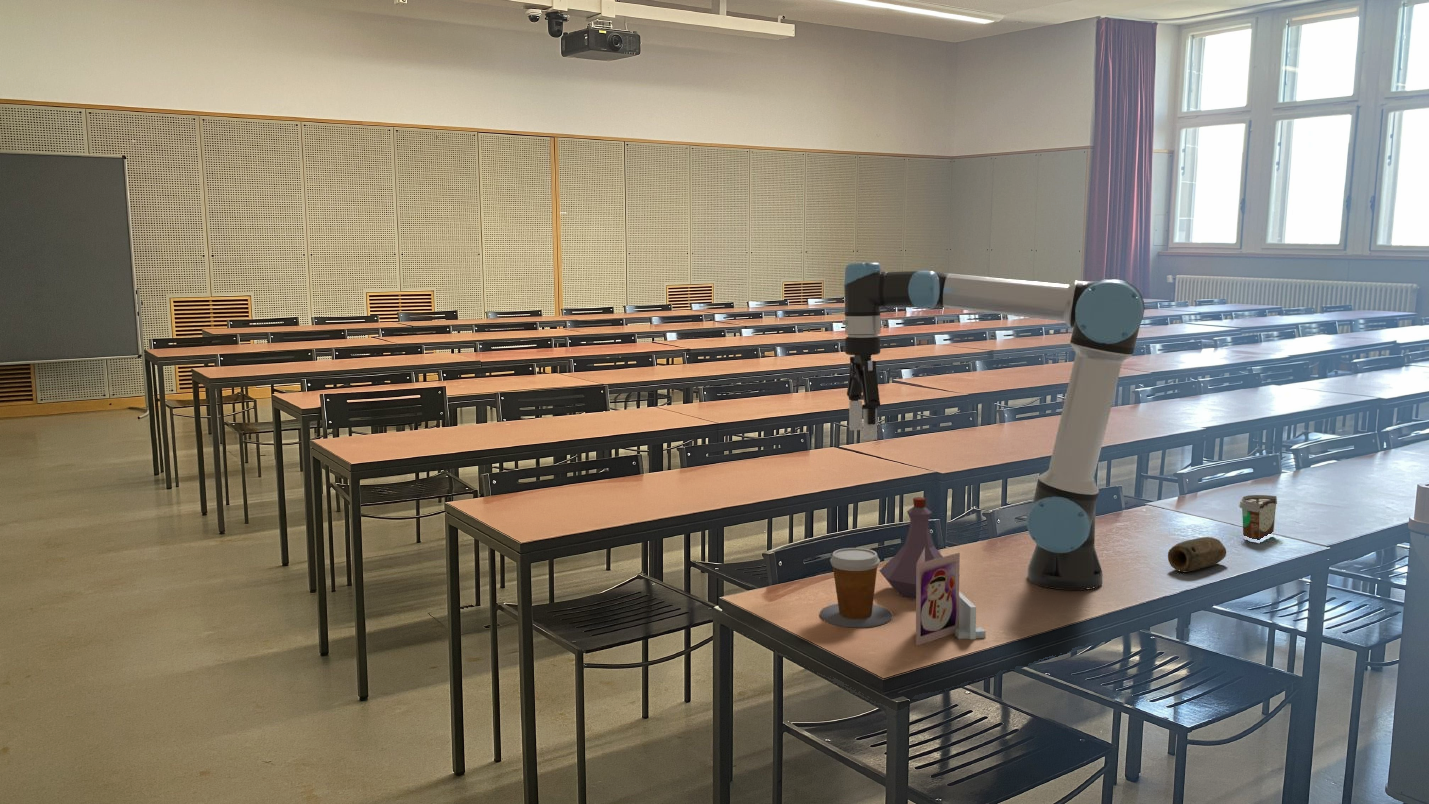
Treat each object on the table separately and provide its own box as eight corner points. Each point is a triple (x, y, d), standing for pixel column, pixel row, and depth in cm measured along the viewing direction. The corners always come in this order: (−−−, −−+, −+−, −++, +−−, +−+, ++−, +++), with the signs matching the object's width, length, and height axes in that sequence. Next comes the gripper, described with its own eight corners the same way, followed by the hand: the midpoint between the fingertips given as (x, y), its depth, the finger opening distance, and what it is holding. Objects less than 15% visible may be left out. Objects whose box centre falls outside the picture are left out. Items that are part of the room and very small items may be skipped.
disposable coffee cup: (820, 614, 194) (819, 554, 193) (851, 602, 201) (850, 544, 199) (860, 625, 187) (859, 563, 186) (890, 612, 194) (889, 552, 192)
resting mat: (882, 602, 201) (882, 600, 201) (900, 626, 188) (900, 624, 188) (813, 605, 200) (813, 604, 200) (827, 629, 187) (827, 628, 186)
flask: (862, 589, 210) (862, 496, 208) (921, 576, 218) (922, 487, 216) (915, 611, 196) (916, 511, 194) (976, 596, 204) (977, 500, 202)
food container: (1248, 531, 250) (1250, 492, 249) (1275, 535, 246) (1277, 495, 245) (1229, 540, 242) (1231, 500, 241) (1256, 545, 237) (1258, 504, 236)
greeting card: (919, 647, 177) (920, 565, 175) (889, 635, 183) (889, 556, 181) (962, 632, 183) (963, 553, 182) (931, 622, 189) (932, 545, 188)
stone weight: (1196, 578, 213) (1198, 548, 212) (1164, 571, 219) (1165, 541, 218) (1228, 564, 223) (1230, 535, 222) (1197, 558, 228) (1198, 529, 227)
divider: (956, 608, 197) (956, 578, 196) (986, 638, 180) (986, 606, 179) (931, 609, 197) (931, 579, 196) (959, 639, 180) (959, 607, 179)
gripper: (833, 333, 224) (834, 426, 226) (858, 339, 199) (858, 444, 202) (866, 332, 224) (866, 425, 227) (895, 338, 200) (895, 443, 202)
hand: (862, 434), depth 214 cm, fingers open, 13 cm apart
